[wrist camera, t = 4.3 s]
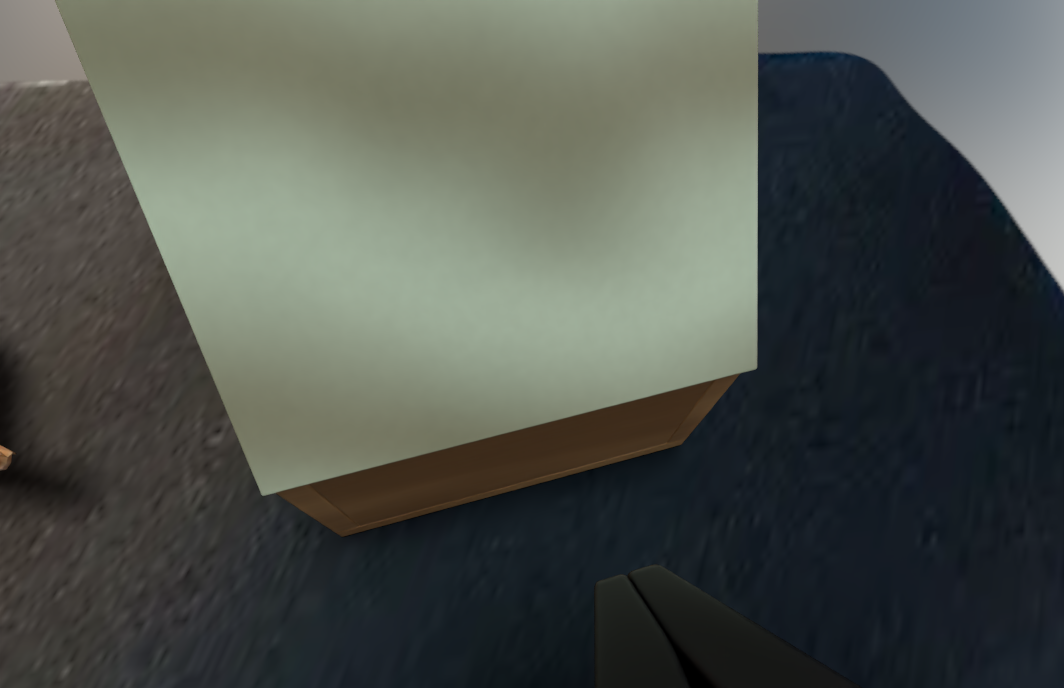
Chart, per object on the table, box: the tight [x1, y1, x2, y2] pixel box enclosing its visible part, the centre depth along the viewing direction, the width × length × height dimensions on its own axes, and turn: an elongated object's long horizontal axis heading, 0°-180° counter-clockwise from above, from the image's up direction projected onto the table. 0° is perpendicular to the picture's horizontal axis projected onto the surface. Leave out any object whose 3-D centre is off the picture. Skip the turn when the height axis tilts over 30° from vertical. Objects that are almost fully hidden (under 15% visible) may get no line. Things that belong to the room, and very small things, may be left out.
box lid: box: [55, 0, 758, 496], centre depth 12 cm, size 16×13×1 cm
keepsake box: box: [276, 373, 740, 537], centre depth 22 cm, size 16×13×7 cm
